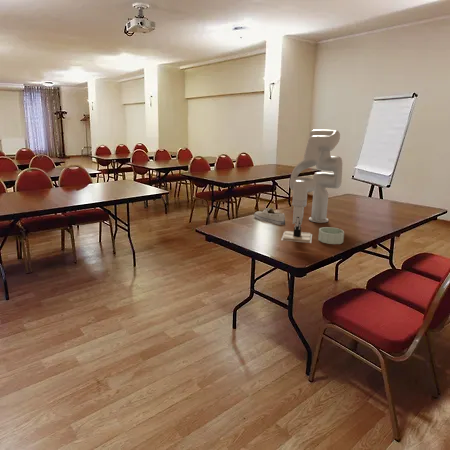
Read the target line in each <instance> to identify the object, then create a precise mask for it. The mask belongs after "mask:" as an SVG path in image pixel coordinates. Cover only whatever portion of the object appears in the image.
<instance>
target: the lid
mask: <svg viewBox="0 0 450 450" xmlns="http://www.w3.org/2000/svg"><path fill="white" fill-rule="evenodd" d="M302 227H303V226H301V227H300V237H296V236H294V229H295V225H294V227H293V231H291V230H285V231H284V232H285V234H284V237H283V240H282V241H284V240H292V241H291V242H295V241H302V242H301V243H306V242H310V234H311V232H303V231H302Z"/></svg>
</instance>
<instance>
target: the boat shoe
mask: <svg viewBox="0 0 450 450" xmlns="http://www.w3.org/2000/svg"><path fill="white" fill-rule="evenodd" d="M253 217H254V218H255V219H257V220H260V221H265V222H269V223H272V224H275V225H278V226H280V225H283V226H284V225H286V217H285V213H284V212H283V213H280V212H275V209H273V208H272V207H267V208H264V210H263V211H260V210H259V211H258V210H257V211H256V212H254V216H253Z"/></svg>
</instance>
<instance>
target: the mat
mask: <svg viewBox="0 0 450 450" xmlns="http://www.w3.org/2000/svg"><path fill="white" fill-rule="evenodd" d="M284 234H285V231H283V234H282V236H281V239H280V240H281V241H287V242H293V241H292V240H283V237H284ZM312 238H313V233H310V242H305V243H306V244H307V243H309V244H312ZM295 242H298V243H303V242H302V241H294V243H295Z"/></svg>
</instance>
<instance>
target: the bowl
mask: <svg viewBox="0 0 450 450" xmlns="http://www.w3.org/2000/svg"><path fill="white" fill-rule="evenodd" d="M344 239H345V231H344V230H343V229H341V228H338V227H330V226H325V227H319V228H318V241H319V242H321V243H324V244H329V245H341V244H344Z"/></svg>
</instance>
